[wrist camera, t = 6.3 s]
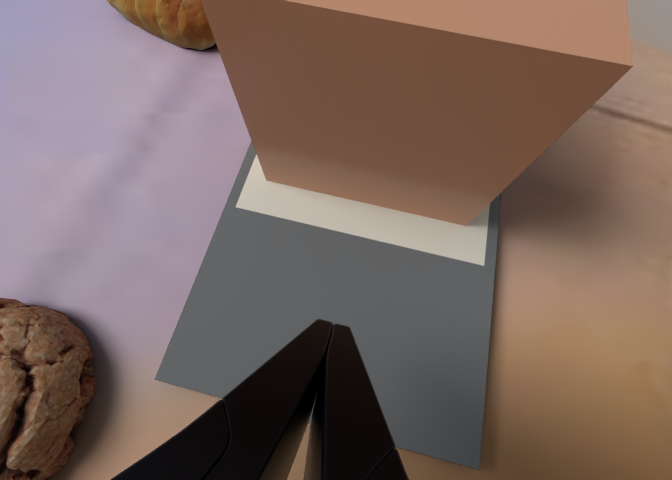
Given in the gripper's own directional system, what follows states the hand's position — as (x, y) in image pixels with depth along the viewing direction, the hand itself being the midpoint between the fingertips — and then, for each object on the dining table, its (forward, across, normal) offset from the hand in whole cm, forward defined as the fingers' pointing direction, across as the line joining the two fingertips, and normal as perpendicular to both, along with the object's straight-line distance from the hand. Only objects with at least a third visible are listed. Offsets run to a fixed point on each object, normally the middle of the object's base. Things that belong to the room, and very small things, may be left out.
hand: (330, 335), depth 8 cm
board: (+10, 0, -2) cm, 10 cm away
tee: (+13, 0, -5) cm, 14 cm away
